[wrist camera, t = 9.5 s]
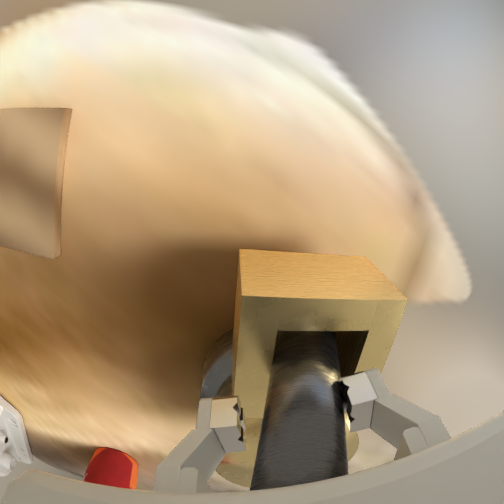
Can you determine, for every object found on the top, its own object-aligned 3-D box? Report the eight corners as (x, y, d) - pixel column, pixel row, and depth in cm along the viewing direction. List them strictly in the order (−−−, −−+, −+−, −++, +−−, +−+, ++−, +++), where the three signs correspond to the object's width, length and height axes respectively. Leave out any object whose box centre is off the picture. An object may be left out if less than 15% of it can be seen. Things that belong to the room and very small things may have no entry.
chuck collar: (323, 435, 22) (336, 484, 17) (213, 437, 21) (212, 490, 17) (380, 257, 17) (426, 300, 12) (220, 247, 16) (214, 295, 11)
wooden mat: (60, 254, 19) (54, 259, 18) (-27, 232, 18) (-35, 236, 17) (72, 108, 16) (64, 108, 15) (-23, 111, 14) (-31, 111, 13)
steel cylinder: (329, 353, 16) (335, 525, 7) (274, 348, 16) (245, 520, 7) (338, 306, 15) (362, 493, 6) (279, 301, 15) (247, 488, 6)
